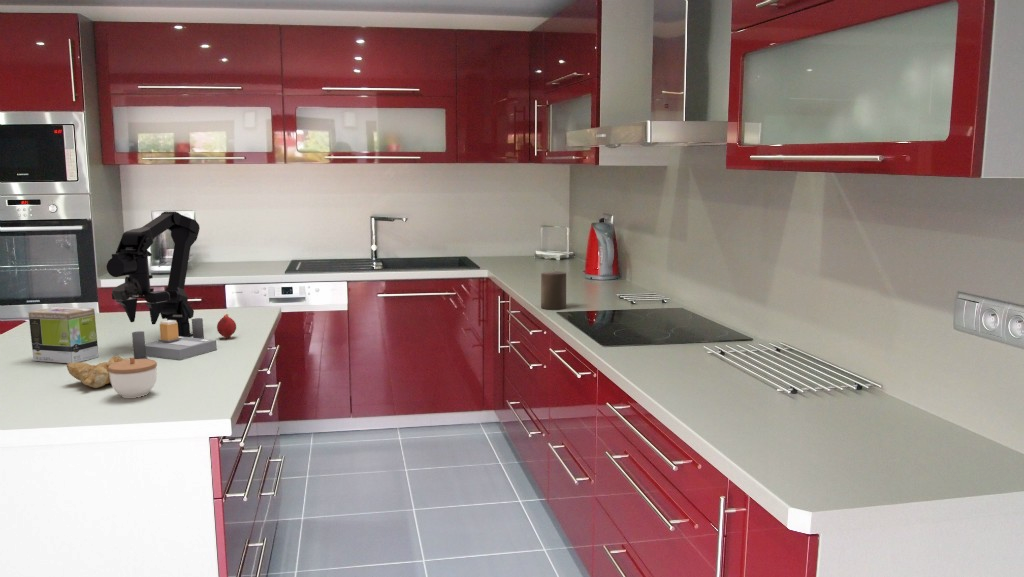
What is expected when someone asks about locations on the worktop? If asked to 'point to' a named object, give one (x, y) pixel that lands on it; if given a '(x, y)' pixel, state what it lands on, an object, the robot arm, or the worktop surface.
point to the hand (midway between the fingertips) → (143, 323)
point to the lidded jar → (133, 377)
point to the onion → (226, 326)
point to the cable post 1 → (139, 345)
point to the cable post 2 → (197, 328)
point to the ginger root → (93, 372)
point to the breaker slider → (169, 331)
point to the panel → (180, 348)
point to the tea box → (63, 334)
